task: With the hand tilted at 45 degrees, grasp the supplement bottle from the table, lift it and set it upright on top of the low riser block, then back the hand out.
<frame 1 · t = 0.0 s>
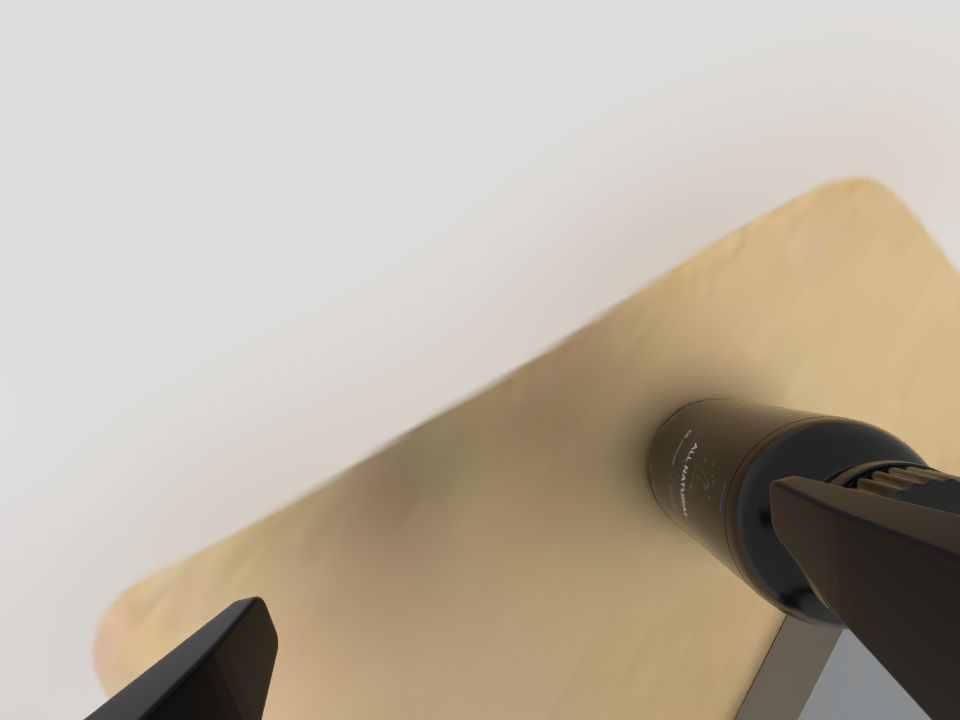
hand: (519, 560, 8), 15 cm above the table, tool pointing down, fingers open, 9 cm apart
riser block: (911, 667, 23), on the table
supplement bottle: (711, 466, 24), on the table
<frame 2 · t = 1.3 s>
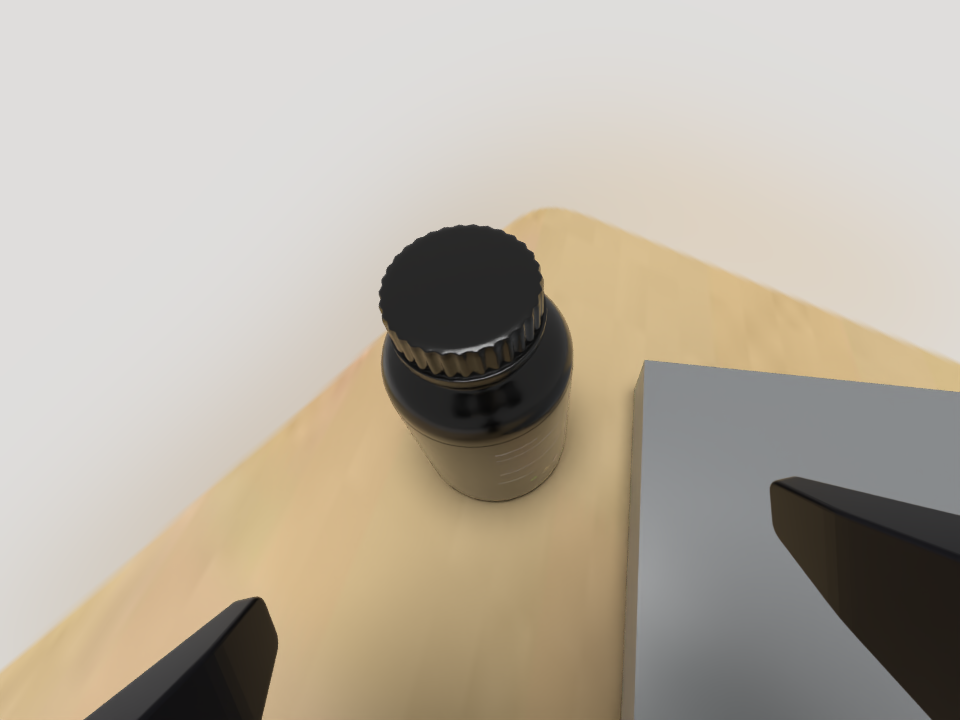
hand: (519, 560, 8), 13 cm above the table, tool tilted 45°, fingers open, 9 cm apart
riser block: (796, 580, 19), on the table
supplement bottle: (496, 438, 24), on the table
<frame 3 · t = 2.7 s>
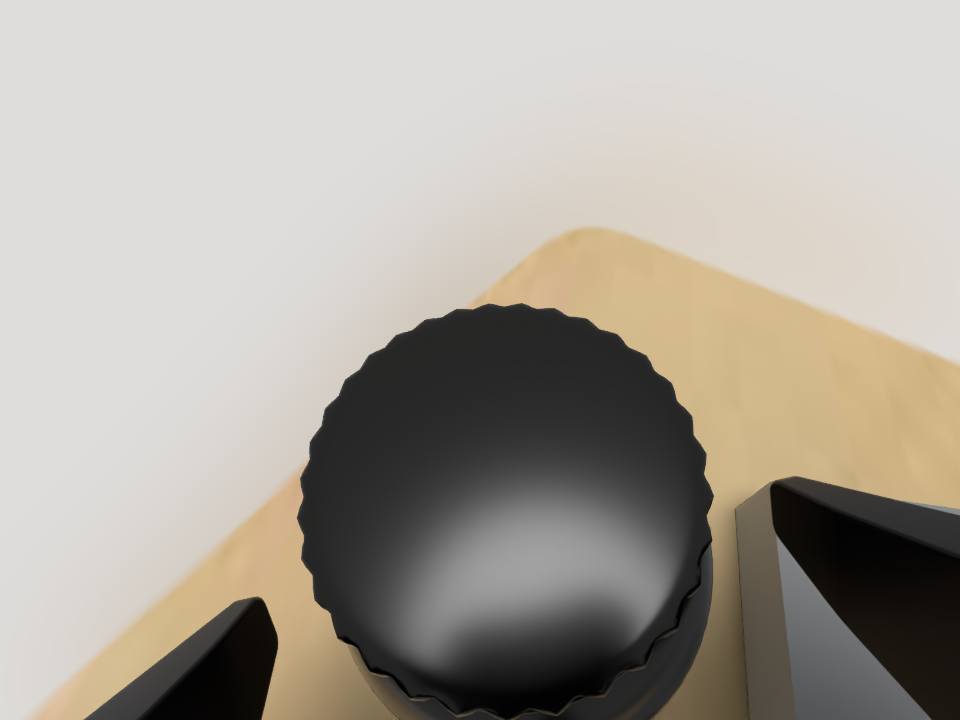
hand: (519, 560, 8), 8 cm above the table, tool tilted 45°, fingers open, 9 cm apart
supplement bottle: (528, 582, 16), on the table
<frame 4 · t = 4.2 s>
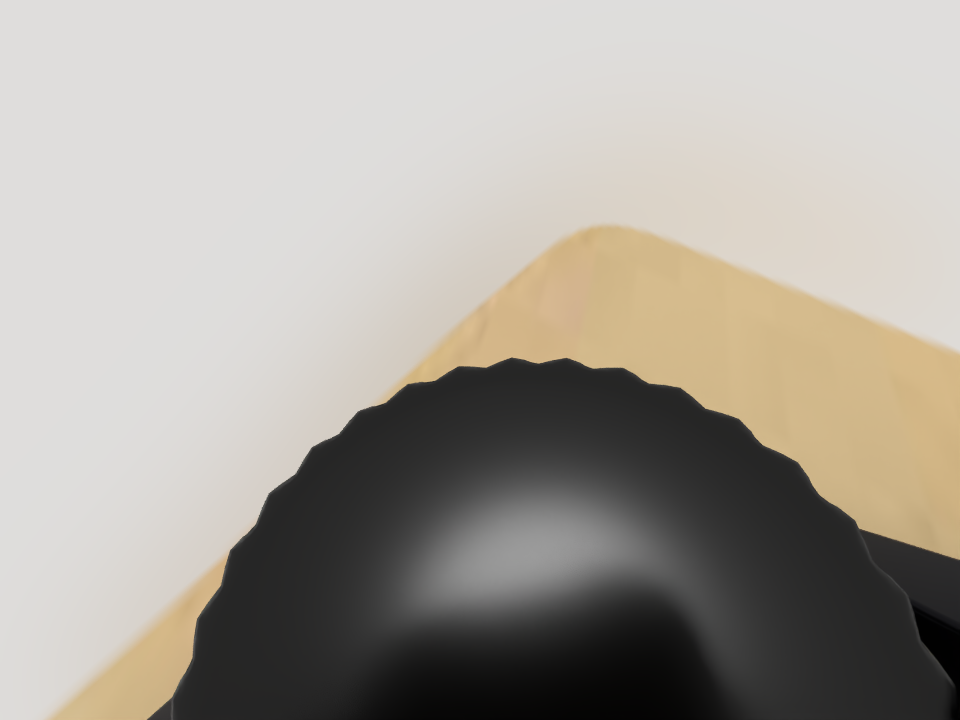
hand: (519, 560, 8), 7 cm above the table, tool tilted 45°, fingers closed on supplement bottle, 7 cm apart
supplement bottle: (542, 650, 13), on the table, touching gripper
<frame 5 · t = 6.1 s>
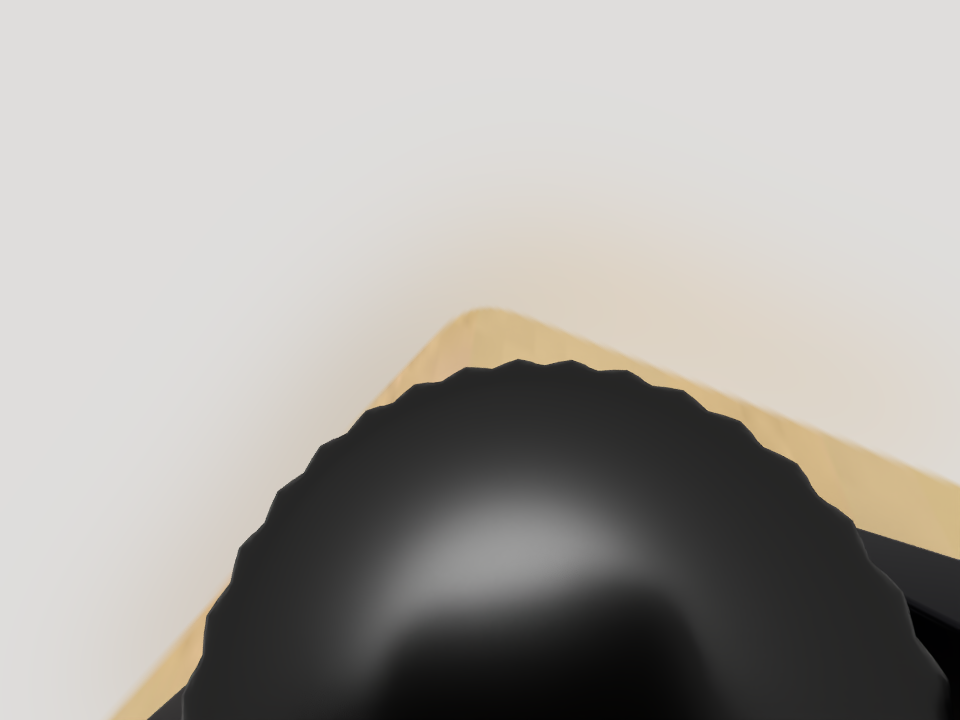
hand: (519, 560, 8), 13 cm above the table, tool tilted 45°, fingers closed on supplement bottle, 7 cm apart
supplement bottle: (536, 649, 13), point 6 cm above the table, touching gripper
when the fingers open (11 cm above the table, at t = 8.2 s): supplement bottle drops 1 cm, resting on riser block.
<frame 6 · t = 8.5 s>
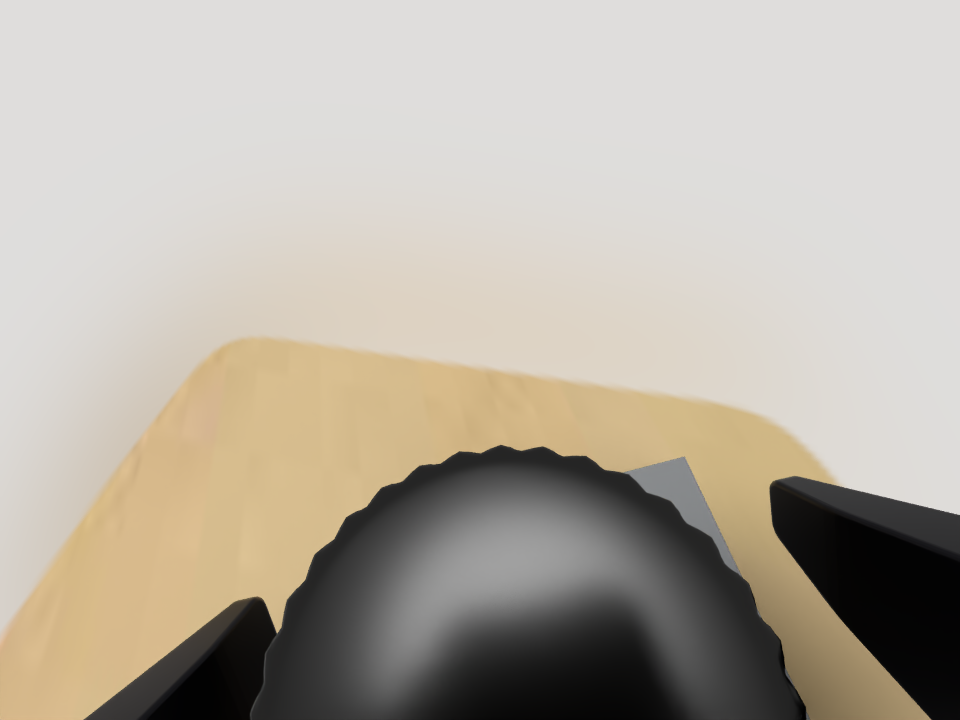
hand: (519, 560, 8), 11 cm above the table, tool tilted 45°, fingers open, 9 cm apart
supplement bottle: (536, 658, 14), point 3 cm above the table, touching riser block
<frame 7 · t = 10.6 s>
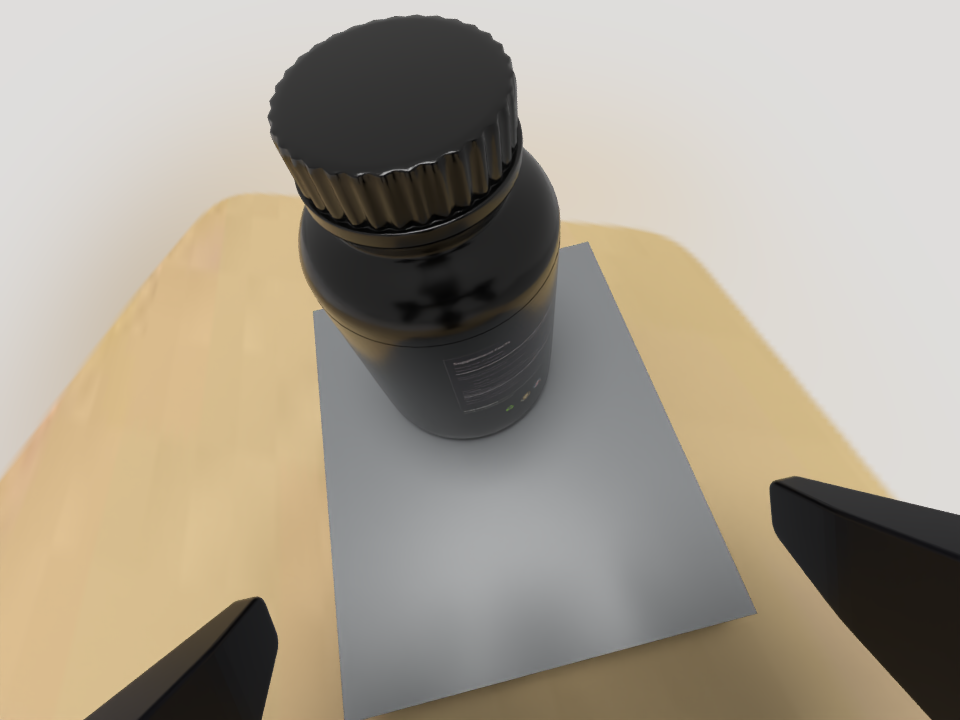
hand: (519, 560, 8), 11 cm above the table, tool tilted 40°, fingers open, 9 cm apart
riser block: (497, 455, 21), on the table
supplement bottle: (468, 367, 20), point 3 cm above the table, touching riser block
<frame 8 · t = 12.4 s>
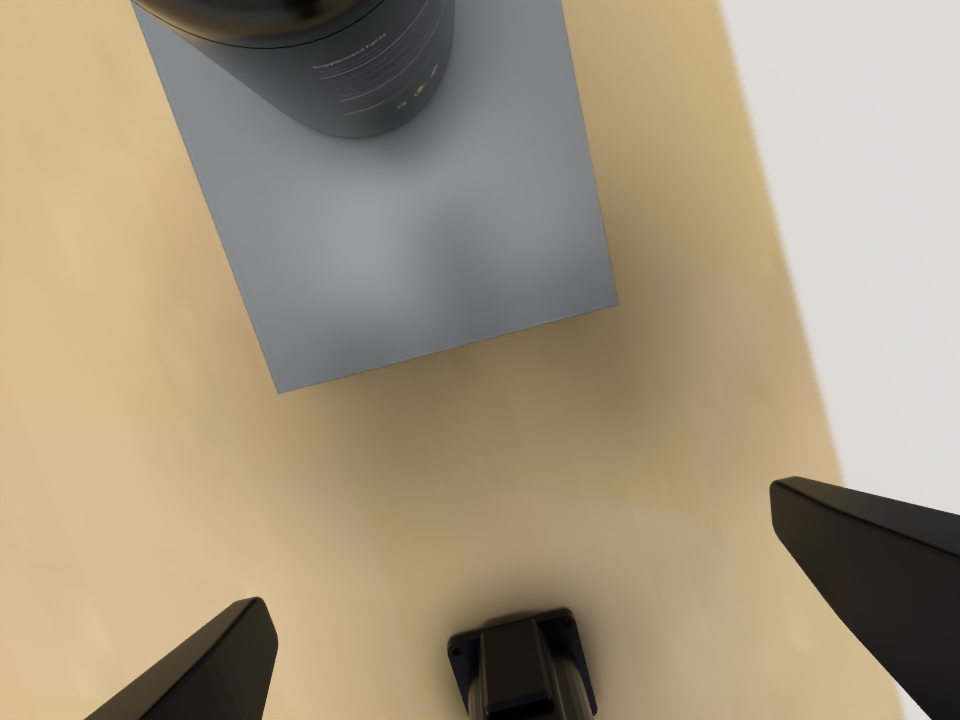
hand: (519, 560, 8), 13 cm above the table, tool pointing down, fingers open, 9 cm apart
riser block: (396, 147, 19), on the table
supplement bottle: (350, 31, 15), point 3 cm above the table, touching riser block
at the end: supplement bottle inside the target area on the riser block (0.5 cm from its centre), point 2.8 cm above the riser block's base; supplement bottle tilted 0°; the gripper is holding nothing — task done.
